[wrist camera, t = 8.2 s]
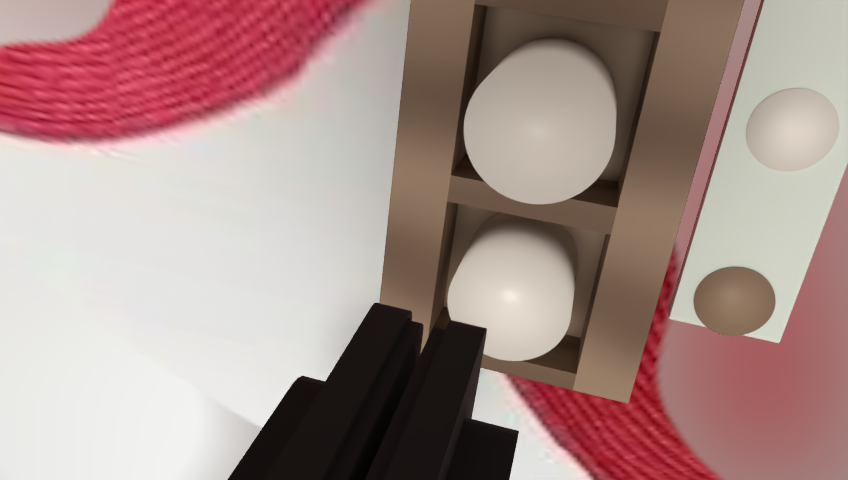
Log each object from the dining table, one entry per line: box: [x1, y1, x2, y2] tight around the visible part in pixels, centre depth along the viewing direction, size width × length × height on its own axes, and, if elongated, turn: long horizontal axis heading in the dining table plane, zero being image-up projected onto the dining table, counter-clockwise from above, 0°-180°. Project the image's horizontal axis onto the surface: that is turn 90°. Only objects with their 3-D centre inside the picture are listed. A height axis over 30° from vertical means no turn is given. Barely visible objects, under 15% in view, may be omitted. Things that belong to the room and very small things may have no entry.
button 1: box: [447, 213, 578, 361], centre depth 30 cm, size 5×5×4 cm
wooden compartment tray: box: [380, 0, 744, 403], centre depth 28 cm, size 23×11×4 cm, turn 173°
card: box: [668, 0, 848, 343], centre depth 28 cm, size 18×5×1 cm, turn 173°
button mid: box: [464, 37, 617, 204], centre depth 25 cm, size 5×5×4 cm
